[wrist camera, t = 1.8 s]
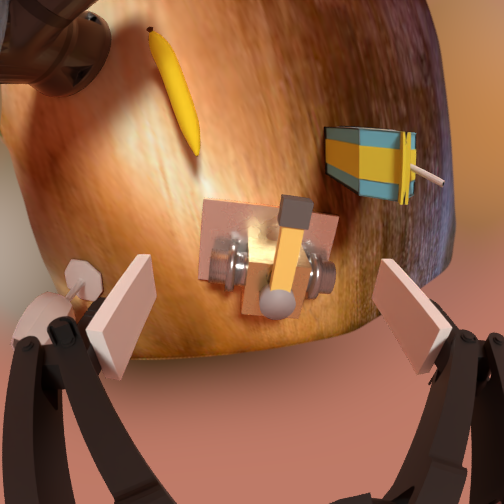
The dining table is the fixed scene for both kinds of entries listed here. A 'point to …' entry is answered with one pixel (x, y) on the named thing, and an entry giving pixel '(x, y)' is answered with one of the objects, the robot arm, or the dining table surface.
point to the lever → (286, 257)
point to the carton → (374, 161)
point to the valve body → (262, 251)
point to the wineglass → (58, 302)
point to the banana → (176, 88)
